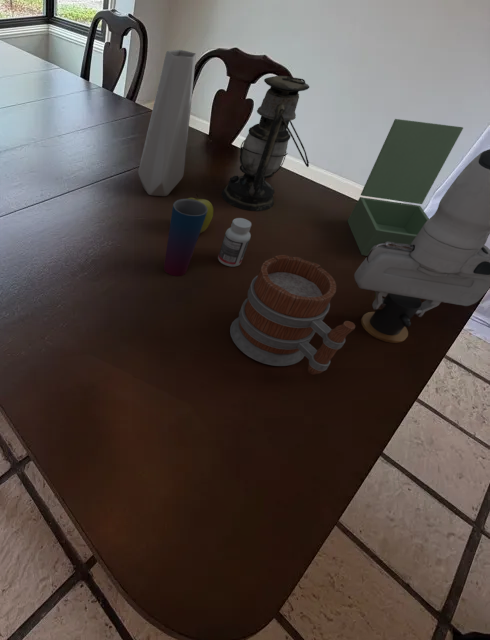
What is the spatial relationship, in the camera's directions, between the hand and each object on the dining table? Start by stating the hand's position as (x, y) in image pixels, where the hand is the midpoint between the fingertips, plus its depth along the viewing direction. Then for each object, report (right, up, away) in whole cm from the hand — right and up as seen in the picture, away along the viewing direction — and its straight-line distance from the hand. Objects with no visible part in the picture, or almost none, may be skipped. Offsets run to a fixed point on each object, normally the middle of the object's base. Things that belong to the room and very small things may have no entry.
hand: (395, 311), depth 84 cm
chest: (+16, +19, +26) cm, 36 cm away
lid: (+19, +37, +22) cm, 47 cm away
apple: (-33, +22, +25) cm, 47 cm away
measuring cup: (-1, -4, +2) cm, 4 cm away
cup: (-40, +10, +13) cm, 43 cm away
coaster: (0, -3, +3) cm, 4 cm away
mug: (-24, -7, -3) cm, 25 cm away
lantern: (-12, +34, +39) cm, 53 cm away
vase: (-40, +36, +39) cm, 67 cm away
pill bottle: (-26, +13, +17) cm, 34 cm away
